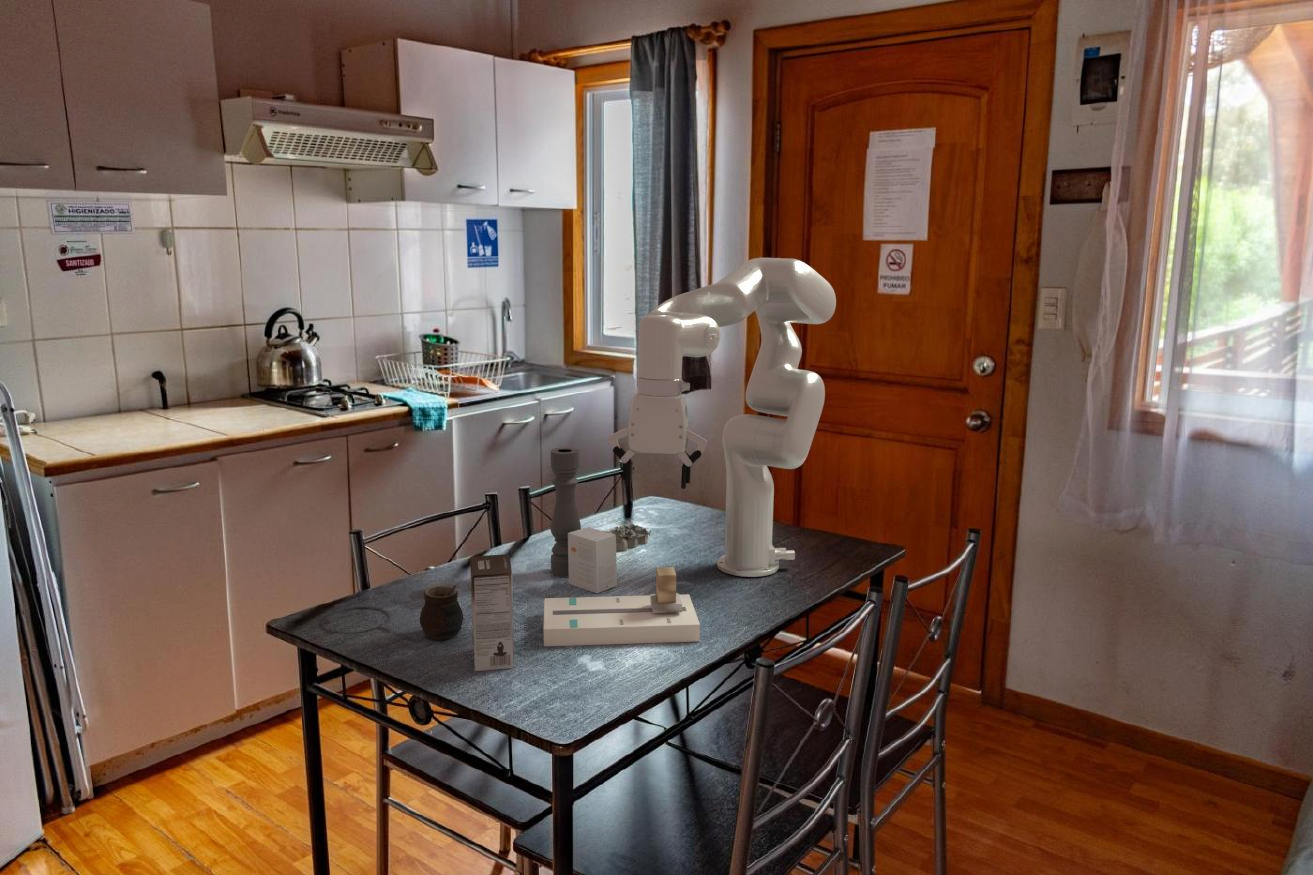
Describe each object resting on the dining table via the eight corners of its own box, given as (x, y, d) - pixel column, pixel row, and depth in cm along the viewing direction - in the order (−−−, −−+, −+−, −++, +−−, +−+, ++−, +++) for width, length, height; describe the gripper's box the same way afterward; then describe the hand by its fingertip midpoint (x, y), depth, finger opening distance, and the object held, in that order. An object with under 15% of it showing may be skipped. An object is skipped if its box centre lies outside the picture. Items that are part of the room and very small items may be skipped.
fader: (678, 601, 175) (678, 566, 174) (681, 612, 171) (682, 576, 169) (650, 602, 175) (650, 566, 174) (652, 612, 170) (653, 576, 169)
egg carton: (618, 555, 212) (618, 536, 211) (595, 546, 217) (595, 528, 216) (654, 543, 219) (654, 526, 218) (630, 536, 224) (630, 518, 223)
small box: (617, 587, 192) (617, 534, 190) (596, 594, 188) (596, 541, 186) (588, 577, 197) (588, 526, 195) (567, 584, 193) (567, 532, 191)
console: (688, 610, 181) (689, 593, 180) (699, 641, 167) (700, 624, 167) (544, 614, 178) (544, 597, 178) (543, 646, 165) (543, 628, 164)
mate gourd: (440, 623, 174) (439, 569, 172) (474, 633, 170) (473, 577, 168) (411, 637, 168) (409, 581, 166) (445, 647, 164) (444, 590, 162)
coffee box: (472, 648, 164) (469, 555, 160) (511, 645, 165) (509, 552, 162) (474, 672, 155) (471, 574, 152) (515, 668, 156) (513, 571, 153)
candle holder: (583, 567, 203) (583, 447, 198) (578, 577, 197) (577, 454, 192) (554, 566, 203) (552, 446, 198) (547, 576, 197) (545, 453, 192)
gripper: (711, 387, 173) (707, 483, 176) (612, 383, 175) (610, 478, 178) (708, 393, 166) (704, 493, 169) (605, 388, 167) (603, 488, 170)
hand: (656, 485), depth 173 cm, fingers open, 9 cm apart
